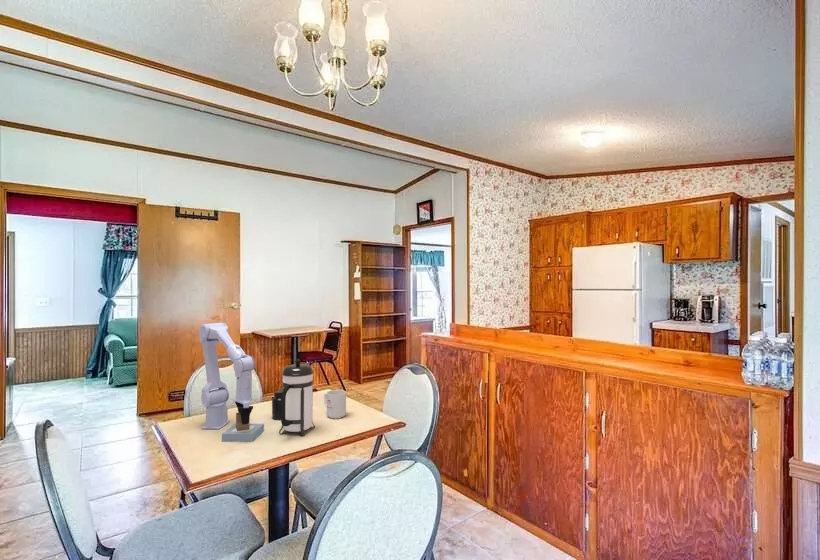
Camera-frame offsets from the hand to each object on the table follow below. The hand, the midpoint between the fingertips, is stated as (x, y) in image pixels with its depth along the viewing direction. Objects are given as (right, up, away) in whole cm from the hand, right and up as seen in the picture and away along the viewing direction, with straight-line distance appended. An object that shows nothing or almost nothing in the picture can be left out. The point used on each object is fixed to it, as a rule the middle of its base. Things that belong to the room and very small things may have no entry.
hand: (243, 421), depth 167 cm
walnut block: (0, -3, 0) cm, 3 cm away
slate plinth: (0, -6, 0) cm, 6 cm away
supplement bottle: (+7, -6, +23) cm, 25 cm away
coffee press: (+20, -6, +5) cm, 21 cm away
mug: (+31, -7, +26) cm, 42 cm away
